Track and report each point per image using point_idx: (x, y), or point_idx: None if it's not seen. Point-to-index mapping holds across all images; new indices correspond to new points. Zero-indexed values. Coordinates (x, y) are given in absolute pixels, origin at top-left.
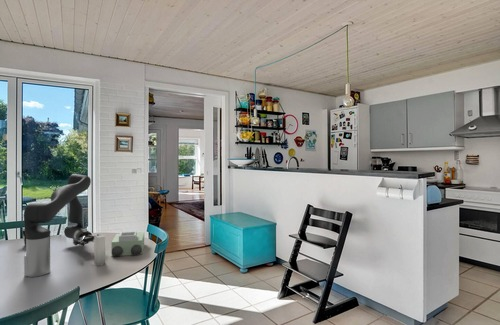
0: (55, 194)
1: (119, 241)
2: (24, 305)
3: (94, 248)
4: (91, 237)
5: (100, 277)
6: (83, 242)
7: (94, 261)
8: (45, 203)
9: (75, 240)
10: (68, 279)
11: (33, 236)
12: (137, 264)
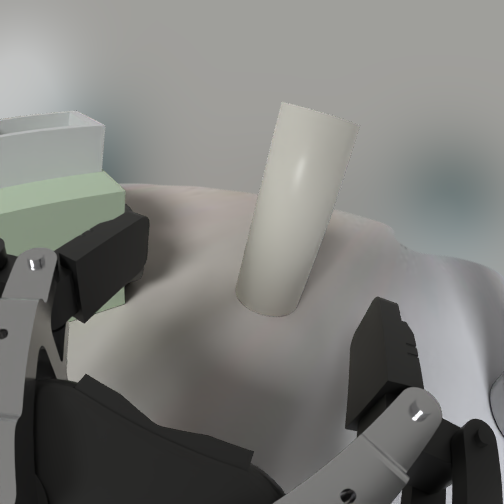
0: None
1: (99, 169)
2: (488, 272)
3: (333, 207)
4: (72, 387)
5: (342, 231)
6: (388, 302)
7: (302, 290)
8: None
9: (490, 458)
10: (426, 287)
11: None
12: (192, 195)
